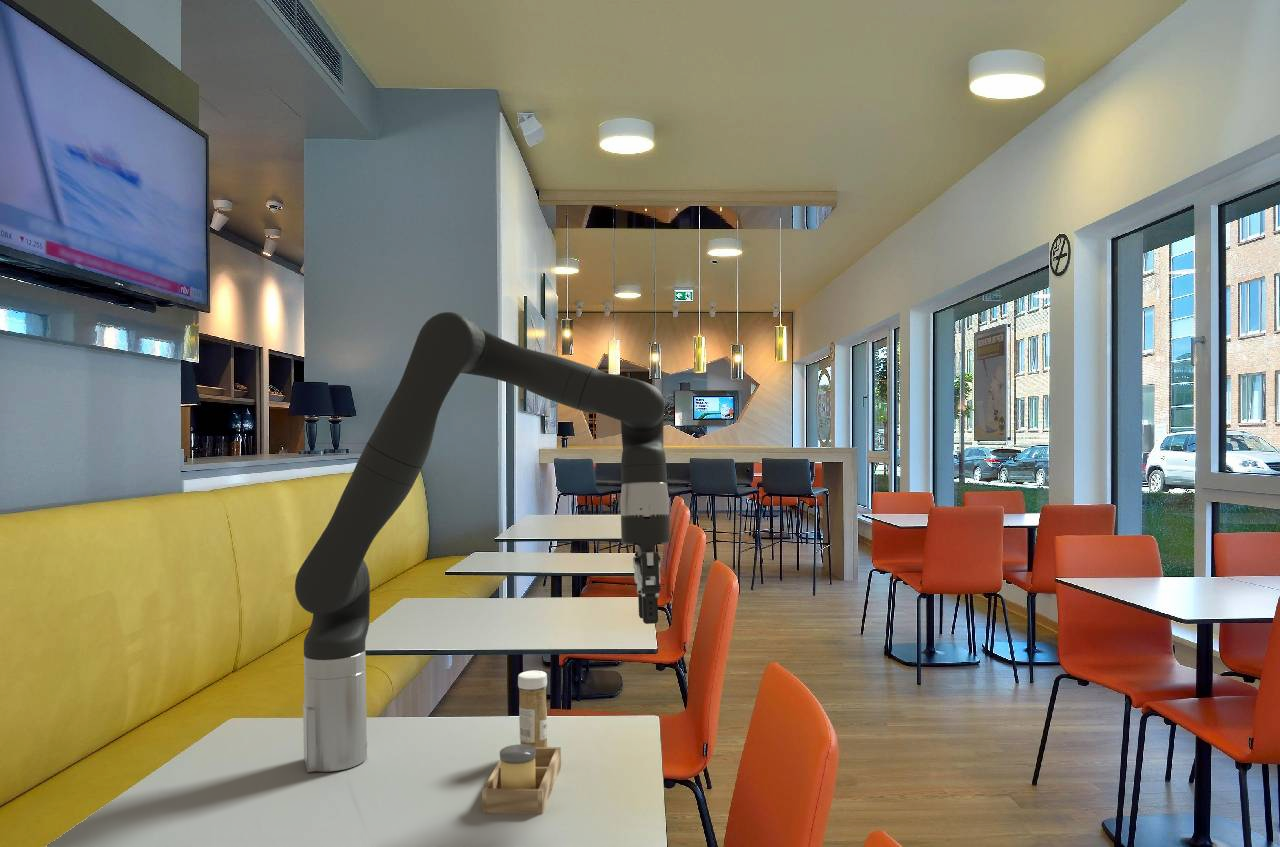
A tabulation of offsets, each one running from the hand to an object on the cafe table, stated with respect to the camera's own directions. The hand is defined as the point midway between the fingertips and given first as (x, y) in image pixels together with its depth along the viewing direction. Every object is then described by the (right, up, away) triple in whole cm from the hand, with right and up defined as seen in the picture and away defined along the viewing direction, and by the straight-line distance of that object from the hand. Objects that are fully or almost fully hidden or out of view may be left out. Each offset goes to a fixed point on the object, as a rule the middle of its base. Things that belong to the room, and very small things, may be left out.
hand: (648, 620), depth 131 cm
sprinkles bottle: (-18, -23, +6) cm, 30 cm away
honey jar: (-18, -23, -11) cm, 31 cm away
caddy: (-18, -23, -7) cm, 30 cm away
